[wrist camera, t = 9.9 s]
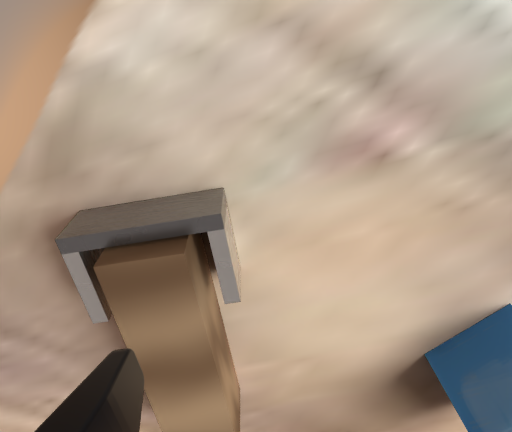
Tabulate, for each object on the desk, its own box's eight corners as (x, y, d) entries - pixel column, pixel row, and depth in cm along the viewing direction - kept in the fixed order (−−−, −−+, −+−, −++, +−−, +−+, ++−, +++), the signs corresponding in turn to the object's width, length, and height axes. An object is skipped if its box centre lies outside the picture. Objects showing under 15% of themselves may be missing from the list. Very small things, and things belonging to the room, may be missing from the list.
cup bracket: (240, 267, 22) (240, 301, 19) (110, 287, 22) (93, 323, 19) (223, 187, 19) (221, 213, 17) (79, 210, 20) (54, 239, 17)
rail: (240, 386, 26) (239, 451, 22) (183, 394, 27) (173, 460, 23) (195, 208, 20) (184, 253, 16) (122, 219, 20) (92, 267, 16)
